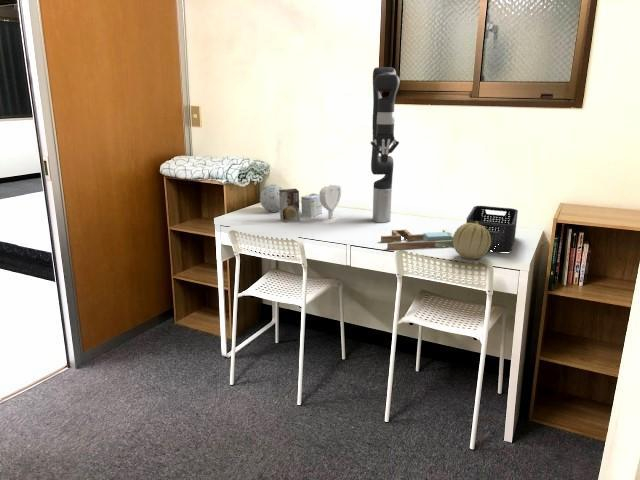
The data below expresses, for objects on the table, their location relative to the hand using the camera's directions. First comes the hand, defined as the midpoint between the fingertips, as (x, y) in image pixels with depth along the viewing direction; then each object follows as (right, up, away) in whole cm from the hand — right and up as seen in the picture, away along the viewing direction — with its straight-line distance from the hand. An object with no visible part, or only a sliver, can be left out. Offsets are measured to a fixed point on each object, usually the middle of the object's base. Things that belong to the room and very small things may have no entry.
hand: (383, 162), depth 224 cm
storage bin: (+47, -36, +1) cm, 59 cm away
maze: (+14, -35, +4) cm, 38 cm away
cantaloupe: (+33, -42, -19) cm, 56 cm away
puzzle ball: (-54, -19, +58) cm, 81 cm away
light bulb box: (-33, -21, +50) cm, 64 cm away
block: (+23, -36, 0) cm, 43 cm away
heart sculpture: (-23, -24, +39) cm, 51 cm away
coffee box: (-44, -24, +39) cm, 64 cm away
